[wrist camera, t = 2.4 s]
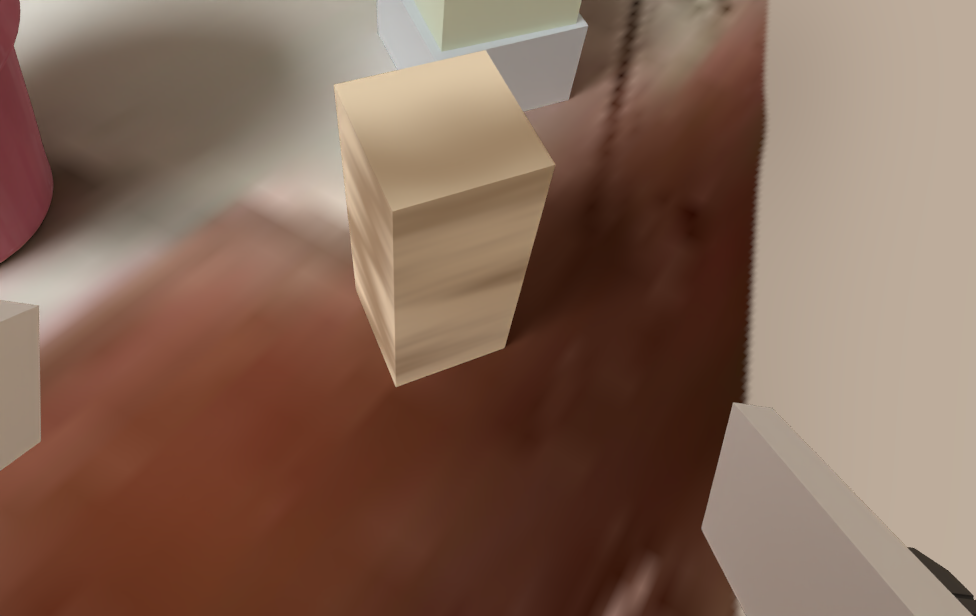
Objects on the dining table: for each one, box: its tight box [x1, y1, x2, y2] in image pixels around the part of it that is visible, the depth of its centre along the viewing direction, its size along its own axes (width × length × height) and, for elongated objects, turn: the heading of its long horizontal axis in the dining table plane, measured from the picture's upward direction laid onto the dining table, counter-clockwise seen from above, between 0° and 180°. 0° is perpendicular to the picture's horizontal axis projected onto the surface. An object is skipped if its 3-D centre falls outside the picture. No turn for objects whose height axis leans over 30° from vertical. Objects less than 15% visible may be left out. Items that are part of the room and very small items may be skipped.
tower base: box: [377, 0, 588, 112], centre depth 38 cm, size 8×8×5 cm
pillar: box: [334, 50, 555, 387], centre depth 26 cm, size 5×5×12 cm
